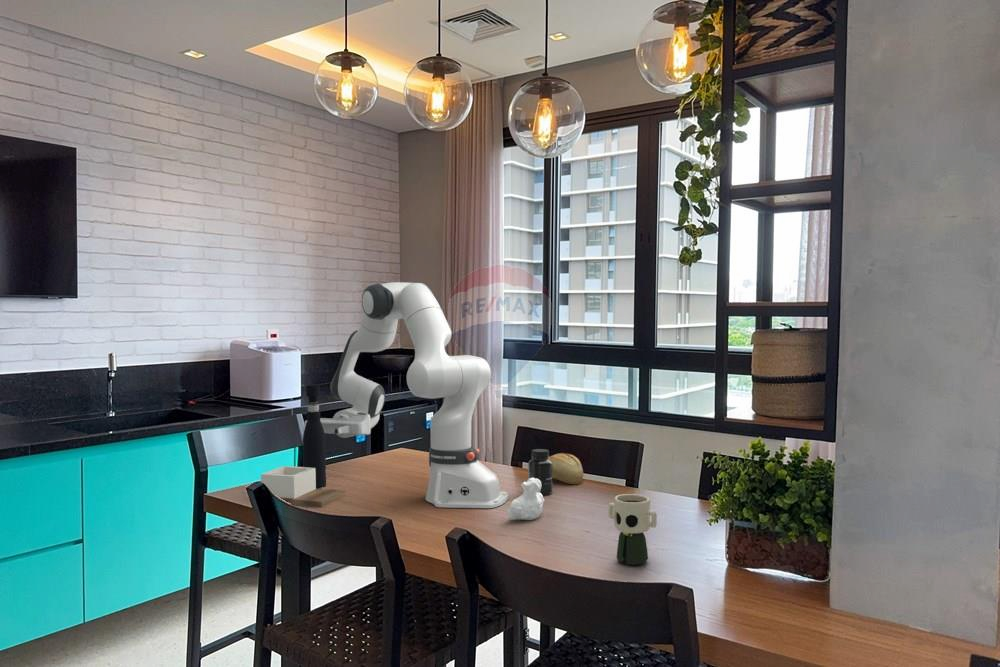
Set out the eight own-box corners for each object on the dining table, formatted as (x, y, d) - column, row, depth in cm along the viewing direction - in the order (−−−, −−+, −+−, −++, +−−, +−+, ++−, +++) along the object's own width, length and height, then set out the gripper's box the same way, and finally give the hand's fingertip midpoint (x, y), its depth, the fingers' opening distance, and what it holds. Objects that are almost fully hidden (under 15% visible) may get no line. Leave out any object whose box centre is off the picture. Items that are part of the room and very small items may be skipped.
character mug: (599, 560, 143) (599, 497, 142) (618, 551, 148) (618, 490, 147) (647, 573, 135) (647, 506, 135) (665, 562, 141) (664, 499, 140)
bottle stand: (345, 495, 195) (344, 469, 195) (321, 507, 184) (321, 479, 183) (283, 491, 201) (282, 465, 201) (257, 502, 190) (256, 474, 189)
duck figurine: (513, 533, 167) (535, 501, 163) (494, 509, 171) (515, 477, 166) (543, 521, 177) (565, 491, 172) (524, 499, 180) (546, 468, 176)
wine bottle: (309, 490, 201) (307, 386, 200) (300, 486, 206) (298, 385, 205) (330, 486, 206) (327, 385, 205) (320, 482, 211) (318, 383, 210)
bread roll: (556, 473, 219) (555, 448, 219) (592, 482, 208) (591, 455, 207) (533, 478, 213) (533, 452, 212) (569, 487, 201) (569, 460, 201)
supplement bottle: (553, 496, 192) (552, 452, 192) (528, 496, 192) (528, 453, 192) (552, 489, 199) (551, 447, 199) (528, 489, 199) (527, 448, 199)
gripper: (317, 412, 226) (292, 419, 213) (374, 414, 220) (352, 421, 207) (318, 432, 226) (293, 439, 213) (375, 434, 220) (352, 442, 207)
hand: (322, 430), depth 210 cm, fingers open, 8 cm apart
